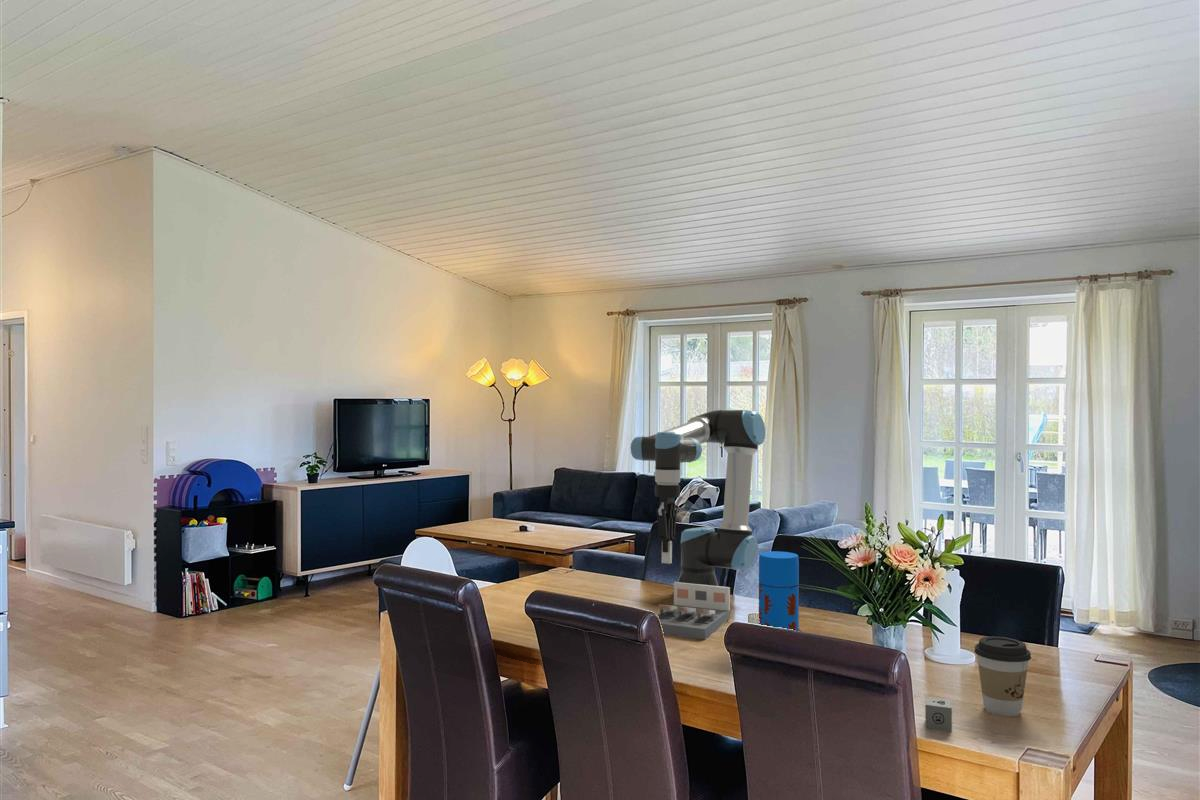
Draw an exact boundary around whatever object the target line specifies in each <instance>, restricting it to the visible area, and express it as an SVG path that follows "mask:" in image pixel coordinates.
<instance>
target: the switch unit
mask: <svg viewBox="0 0 1200 800" xmlns="http://www.w3.org/2000/svg"><path fill="white" fill-rule="evenodd" d="M671 606H677V609H673V610H665V609H659V613H658V614H657V615H658V616H659V619H660V622H661V625H662V628H663V632H664V634H663V635H666V636H667V635H668V636H673V635H674V636H675V637H680V636H681V637H682V638H688V637H689V639H696V638H697V639H698V640H703V639H704V641H705V640H707V639H708V638H709V637H710V636H712V635H713V634H714V633H715V632H716V630H717V629H718V628H719V627H720V626H721V625H722V624H723V623H724V622H726V621H727V620H729V619H730V620H731V617H730V616H731V609H730V608H731V587H729V586H722V585H721V586H720V585H719V586H711V585H701V584H691V583H681V582H678V581H674V582H673V605H671ZM678 607H688V608H696V611H693V612H683V611H678ZM697 609H705V610H714V611H715V613H712V615H711V614H700V613H697ZM730 620H729V621H730ZM726 623H727V622H726ZM721 627H722V626H721ZM721 627H720V628H721ZM720 628H719V629H720ZM719 629H718V630H719ZM718 630H717V631H718ZM713 632H714V633H713ZM712 633H713V634H712ZM711 634H712V635H711ZM706 638H707V639H706ZM697 639H696V640H697Z"/></svg>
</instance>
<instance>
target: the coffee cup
mask: <svg viewBox="0 0 1200 800" xmlns="http://www.w3.org/2000/svg"><path fill="white" fill-rule="evenodd" d="M973 651H974V654H976V656H977V664H978V671H979V679H980V686H981V693H982V694H981V695H982V703H983V704H982V705H983V706H984V710H985V711H986V712H987V713H990V714H992V715H994V716H1000V717H1007V718H1008V717H1009V718H1012V717H1017V716H1020V714H1021V711H1022V710H1023V703H1024V702H1023V701H1024V695H1025V688H1026V680H1027V675H1028V674H1027V673H1028V667H1029V661H1030V660H1031V659H1032V654H1031V651H1030V650H1029V649H1027V645H1026V643H1025V642H1023V641H1021V640H1018V639H1016V638H1011V637H1006V636H995V635H994V636H984V637H981V638H980V639H978V643H976V644H975V645H974V650H973Z"/></svg>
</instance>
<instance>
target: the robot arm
mask: <svg viewBox="0 0 1200 800" xmlns="http://www.w3.org/2000/svg"><path fill="white" fill-rule="evenodd" d="M765 425H766V424H765V421H764V419H763V417H762V415H761V414H760V413H759V412H758V411H756V410H748V409H739V410H738V409H736V410H735V409H730V410H729V409H727V410H724V409H718V410H711V411H708V412H704V413H702V414H699V415H696V416H694V417H691V418H690V419H688V420H687V422H686V423H683V424H680V425H677V426H675V427H672V428H669V429H667V430H664V431H659V432H657V433H656V434H653V435H650V436H645V435H642V436H637V437H634V438H633V439H632V440H631V443H630V454H631V457H632V458H633V459H635V460H637V461H638V460H639V461H643V462H644V461H645V462H647V461H649V462H650V461H652V462H654V463H655V465H654V469H655V470H654V472H653V475H654V476H655V477H654V481H655V484H654V497H656V498H659V503H658V508H656V509H655V514H656V520H657V531H658V541H659V542H661V564H670V565H671V564H672V561H673V541H674V542H675V541H676V538H675V537H676V526H677V518H678V517H677V516H678V515H677V514H678V510H679V505H678V504H677V505H676V499H675V498H677V499H678V498H679V497H680V496H681V485H680V484H679V483H681V463H688V464H689V463H692V462H693V463H694V462H697V461H698V459H700V458H701V456H702V453H703V449H702V448H703V447H702V444H704V443H713V444H716V443H717V444H723V449H724V450H725V452H726V453H727V456H726V470H725V471H726V473H725V486H724V496H723V499H724V501H723V502H724V503H723V515H722V523H721V524H719V526H718V527H717V532H716V530H715V528H714V527H713V526H702V527H701V526H700V527H692V528H686V529H684V530H683V531H681V537H680V542H679V544H680V574H679V577H678V580H677V582H681V583H691V584H701V585H711V586H720V585H719V583H718V580H717V576H716V574H715V568H721V569H722V568H724V569H730V570H737V571H738V570H741V571H744V570H749V568H751V567H752V566H753V564H754V562H755V561H756V558H757V556H758V551H759V543H758V539H757V537H756V536H754V535H753V529H752V528H751V526H749V517H750V516H749V514H750V502H751V501H750V500H751V499H750V498H751V484H752V471H753V469H752V468H753V455H754V454H755V453H757V451H758V450H759V449H758V447H759V446H760V445H762V444H763V443H764V442H765V439H766V426H765Z"/></svg>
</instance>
